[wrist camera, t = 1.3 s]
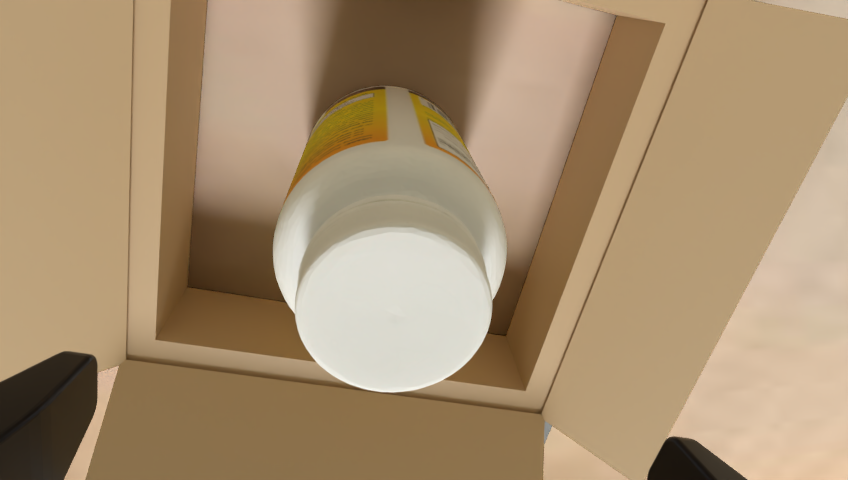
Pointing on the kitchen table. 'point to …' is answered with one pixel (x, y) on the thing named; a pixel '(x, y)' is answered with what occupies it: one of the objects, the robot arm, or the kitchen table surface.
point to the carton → (498, 355)
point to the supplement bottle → (389, 243)
